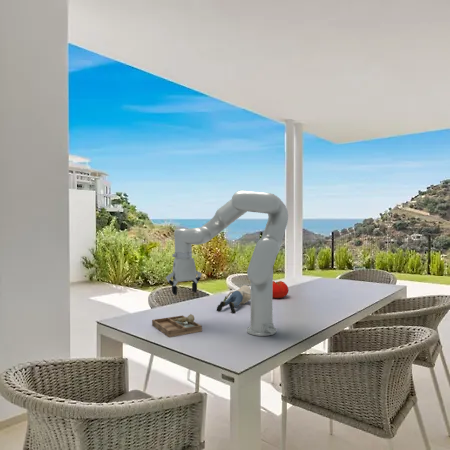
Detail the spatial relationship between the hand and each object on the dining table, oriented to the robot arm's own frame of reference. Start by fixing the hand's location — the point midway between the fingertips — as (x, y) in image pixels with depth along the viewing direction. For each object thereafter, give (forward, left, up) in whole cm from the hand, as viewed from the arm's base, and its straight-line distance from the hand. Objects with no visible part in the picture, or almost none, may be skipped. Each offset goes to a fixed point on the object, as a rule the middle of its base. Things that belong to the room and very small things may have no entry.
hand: (184, 293), depth 172 cm
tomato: (+30, -76, -16) cm, 84 cm away
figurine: (+1, 0, -15) cm, 15 cm away
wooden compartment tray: (0, +4, -16) cm, 16 cm away
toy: (+22, -42, -16) cm, 50 cm away
